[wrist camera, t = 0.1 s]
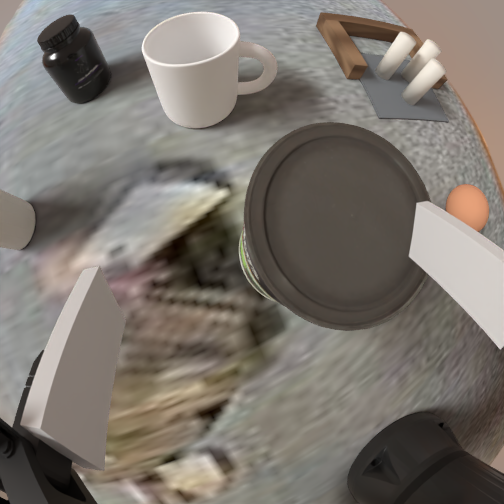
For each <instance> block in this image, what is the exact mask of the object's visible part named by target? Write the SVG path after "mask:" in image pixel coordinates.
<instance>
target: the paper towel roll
mask: <svg viewBox="0 0 504 504" xmlns="http://www.w3.org/2000/svg"><path fill="white" fill-rule="evenodd" d="M35 222H36V221H35V212H34V210H33V207H32V205H31V204H29V203H28V202H27V201H25V200H22V199H20V198H18V197H16V196H13V195H11V194H9V193H7V192H5V191H2V190H0V247H2V248H8V249H13V250H20V249H22V248H24V247H25V246H26V245H27V244H28V243H29V241H30V240H31V237H32V235H33V232H34V228H35Z"/></svg>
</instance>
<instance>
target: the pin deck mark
mask: <svg viewBox="0 0 504 504" xmlns="http://www.w3.org/2000/svg"><path fill="white" fill-rule="evenodd" d="M360 54H361V55H362V57H363V58H364V60H365V62H366V63H367V65H368V67H367V69H366V70H365V72H364V73H363V75H362V77H361V78H360V81H361V83H362V85H363V86H364V88H365V90H366V92H367V94H368V96H369V98H370V100H371V102H372V104H373V107H374V109H375V111H376V113H377V115H378V117H379V119H414V120H429V121H441V122H449V121H448V119H447V116H446V114H445V112H444V110H443V108H442V107H441V105H440V103H439V101H438V99H437V97H436V95H435V93H434V92H433V90H432V88H430V89H429V90H428V91H427V92H426V93H425V94H424V95H423V96H422V97H421V98H420V99H419V100H418V101H417V102H416V103H415V104H414V105H409V104H408V103H406V102H405V101H404V100H403V98H402V96H401V93H402V92H403V91H404V90H405V89H406V87H407V86H408V85H409V84H410V83H409V82H407V81H406V80H405V79H404V78H403V77H402V75H401V72H402V71H403V70H404V68H405V67H406V66H407V65H408V63H409V62H410V61H409V60H404V61H403V62H402V63H401V65H400V66H399V67H398V68H397V70H396V71H395V72H394V74H393V75H392V76H391V78H390V79H389V80H384V79H382V78H380V77H379V76H378V75H377V74H376V72H375V69H376V68H377V66H378V65H379V63H380V62H381V60H382V59H383V57H384V56H380V55H373V54H365V53H360Z"/></svg>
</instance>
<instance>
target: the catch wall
mask: <svg viewBox="0 0 504 504" xmlns="http://www.w3.org/2000/svg"><path fill="white" fill-rule="evenodd" d="M316 27H317V28H318V30H319V31H320V33H321V34H322V36H323V38H324V39H325V41H326V42H327V44H328V46H329V47H330V49H331V51H332V52H333V54H334V56H335V58H336V59H337V61H338V63H339V65H340V67H341V68H342V70H343V72H344V74H345V76H346V78H347V79H360V78H361V77H362V75H363V73H364V72H365V70H366V69H367V67H368V65H367V63H366V62H365V60H364V58H363V57H362V55H361V54H360V52H359V50H358V49H357V47H356V46H355V44H354V43H353V41H352V40H351V38H350V37H349V36H357V37H364V38H371V39H377V40H383V41H388V42H394V41H395V39H396V37H397V36H398V34H399V33H400V32H405V33H407V34H409V35H410V36H412V37H413V38H414V39H415V41H416V45H415V46H414V47H413V49H412V50H411V51H410V53H409V55H410V56H411V58H413V57H414V56H415V54H416V53H417V52H418V51H419V49H420V48H421V47H422V45H423V43H422V42H421V40H420V39H419V38H418V36H417V35H416V34H415V33H414V31H413V30H412V29H409V28H405V27H402V26H398V25H394V24H390V23H385V22H381V21H376V20H371V19H366V18H360V17H354V16H347V15H340V14H331V13H320V16H319V19H318V22H317V25H316ZM446 81H447V78H446V77H445V75H443V76H442V77H441V78H440V79H439V80H438V81H437V82H436V83H435V84H434V85H433V86H432V87H431V88H435V89H439V88H440V87H441V86H442V85H443V84H444V83H445V82H446Z"/></svg>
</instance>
